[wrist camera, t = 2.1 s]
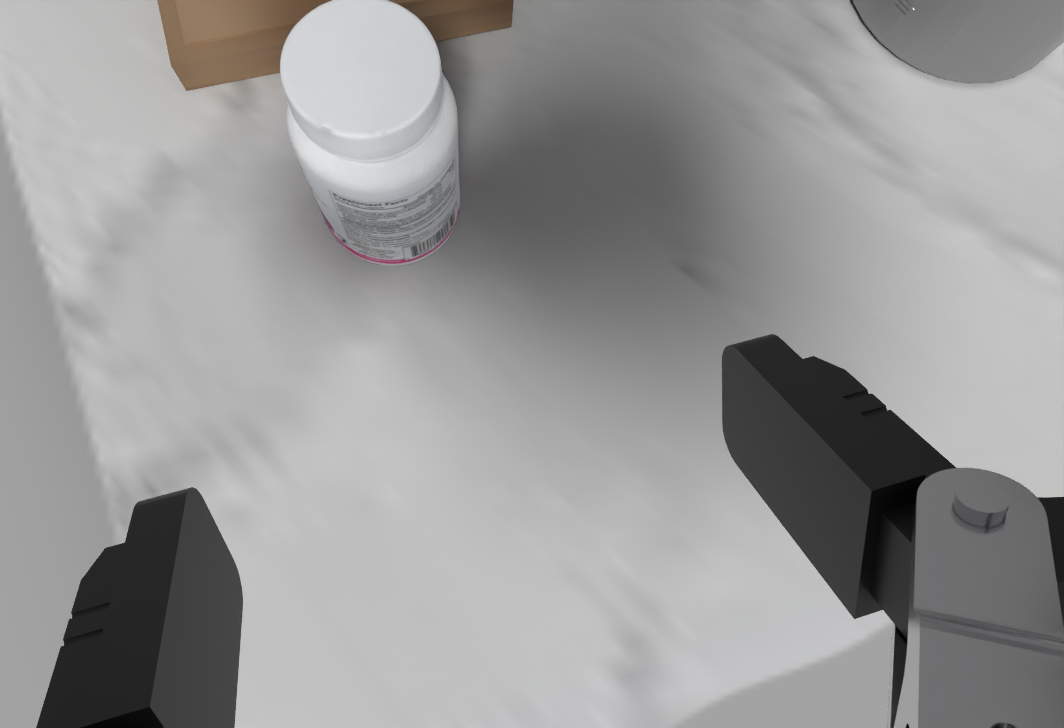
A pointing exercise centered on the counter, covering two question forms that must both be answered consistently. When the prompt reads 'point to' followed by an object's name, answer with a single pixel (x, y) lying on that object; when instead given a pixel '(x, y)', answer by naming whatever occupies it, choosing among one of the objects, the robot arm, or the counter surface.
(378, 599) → the counter surface
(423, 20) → the walnut tray
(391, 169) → the pill bottle
